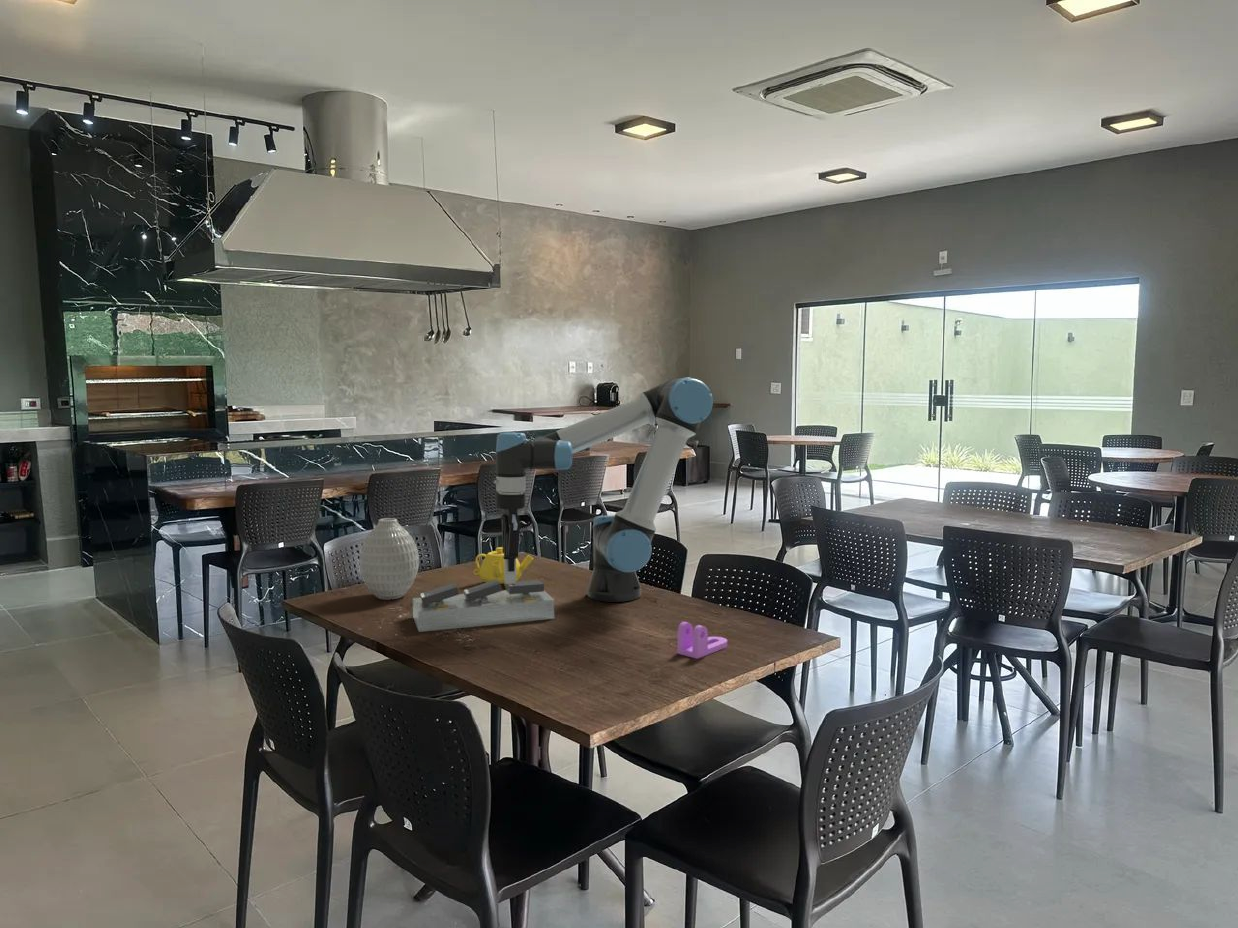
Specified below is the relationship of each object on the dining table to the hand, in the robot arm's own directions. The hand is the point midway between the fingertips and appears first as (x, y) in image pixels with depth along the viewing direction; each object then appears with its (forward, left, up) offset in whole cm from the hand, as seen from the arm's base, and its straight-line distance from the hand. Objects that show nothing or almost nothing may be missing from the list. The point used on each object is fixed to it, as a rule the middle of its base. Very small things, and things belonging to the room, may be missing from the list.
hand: (510, 582), depth 222 cm
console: (+7, 0, -9) cm, 11 cm away
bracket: (-36, +43, -9) cm, 57 cm away
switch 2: (+7, 0, -1) cm, 7 cm away
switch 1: (+18, 0, -1) cm, 18 cm away
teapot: (-5, -34, -9) cm, 35 cm away
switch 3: (-4, 0, -1) cm, 4 cm away
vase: (+28, -31, -9) cm, 43 cm away
